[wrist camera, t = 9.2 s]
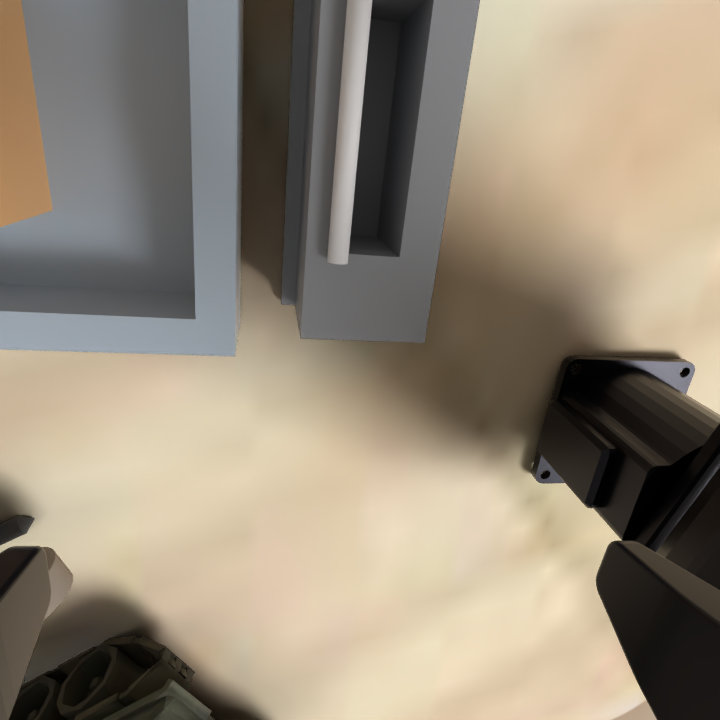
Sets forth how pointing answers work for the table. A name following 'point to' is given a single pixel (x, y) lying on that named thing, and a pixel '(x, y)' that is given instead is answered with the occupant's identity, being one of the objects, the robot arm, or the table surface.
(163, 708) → the toy tank
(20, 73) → the tan wooden block
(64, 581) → the figurine character
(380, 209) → the dispenser
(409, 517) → the table surface
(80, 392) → the table surface
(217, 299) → the tray
